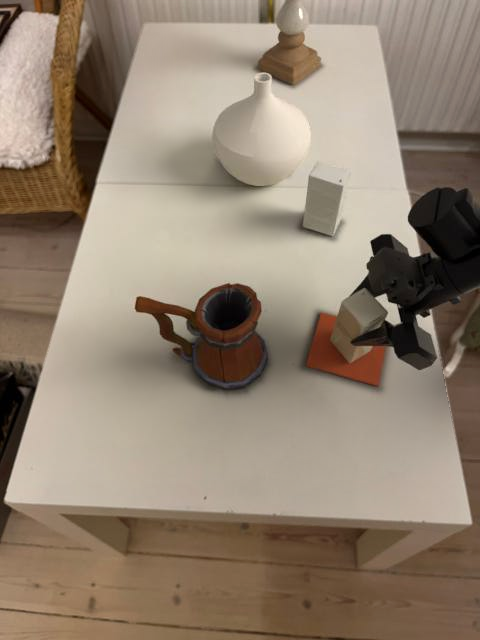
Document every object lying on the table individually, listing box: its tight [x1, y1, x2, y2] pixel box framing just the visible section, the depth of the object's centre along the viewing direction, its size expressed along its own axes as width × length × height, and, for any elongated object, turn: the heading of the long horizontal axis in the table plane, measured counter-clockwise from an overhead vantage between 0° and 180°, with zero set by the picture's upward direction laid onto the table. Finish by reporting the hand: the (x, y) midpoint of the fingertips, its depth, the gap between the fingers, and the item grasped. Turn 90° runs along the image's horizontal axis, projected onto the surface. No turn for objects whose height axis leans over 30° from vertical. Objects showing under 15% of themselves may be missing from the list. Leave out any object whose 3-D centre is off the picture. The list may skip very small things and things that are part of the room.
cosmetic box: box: [302, 160, 352, 237], centre depth 84 cm, size 6×4×12 cm
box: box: [330, 288, 389, 363], centre depth 70 cm, size 5×4×11 cm
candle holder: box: [257, 0, 322, 86], centre depth 106 cm, size 11×11×24 cm
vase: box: [211, 71, 312, 187], centre depth 89 cm, size 18×18×19 cm
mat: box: [305, 311, 387, 387], centre depth 75 cm, size 11×10×1 cm
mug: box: [134, 282, 268, 391], centre depth 69 cm, size 18×12×15 cm, turn 83°
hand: (348, 323), depth 69 cm, fingers closed on box, 6 cm apart
